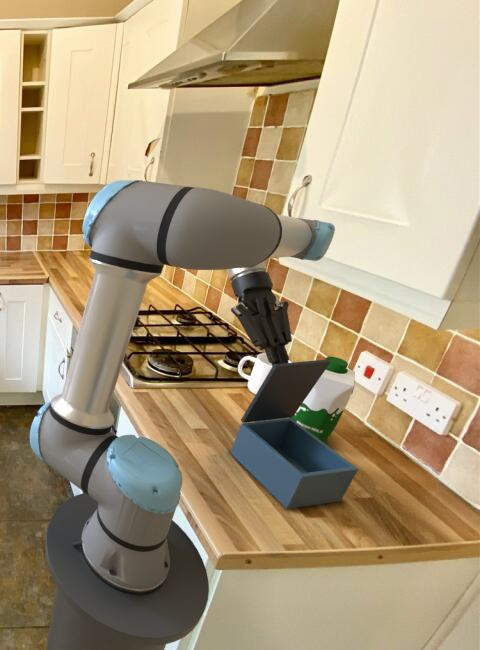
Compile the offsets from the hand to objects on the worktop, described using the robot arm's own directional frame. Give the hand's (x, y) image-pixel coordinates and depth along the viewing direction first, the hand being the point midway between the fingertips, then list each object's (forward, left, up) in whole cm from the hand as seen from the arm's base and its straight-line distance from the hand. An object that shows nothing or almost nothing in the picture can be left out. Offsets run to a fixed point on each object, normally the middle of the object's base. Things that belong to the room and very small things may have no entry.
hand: (285, 377), depth 87 cm
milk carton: (+17, +4, -21) cm, 27 cm away
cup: (+20, +23, -21) cm, 37 cm away
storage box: (0, -7, -21) cm, 22 cm away
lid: (0, -1, -3) cm, 4 cm away
